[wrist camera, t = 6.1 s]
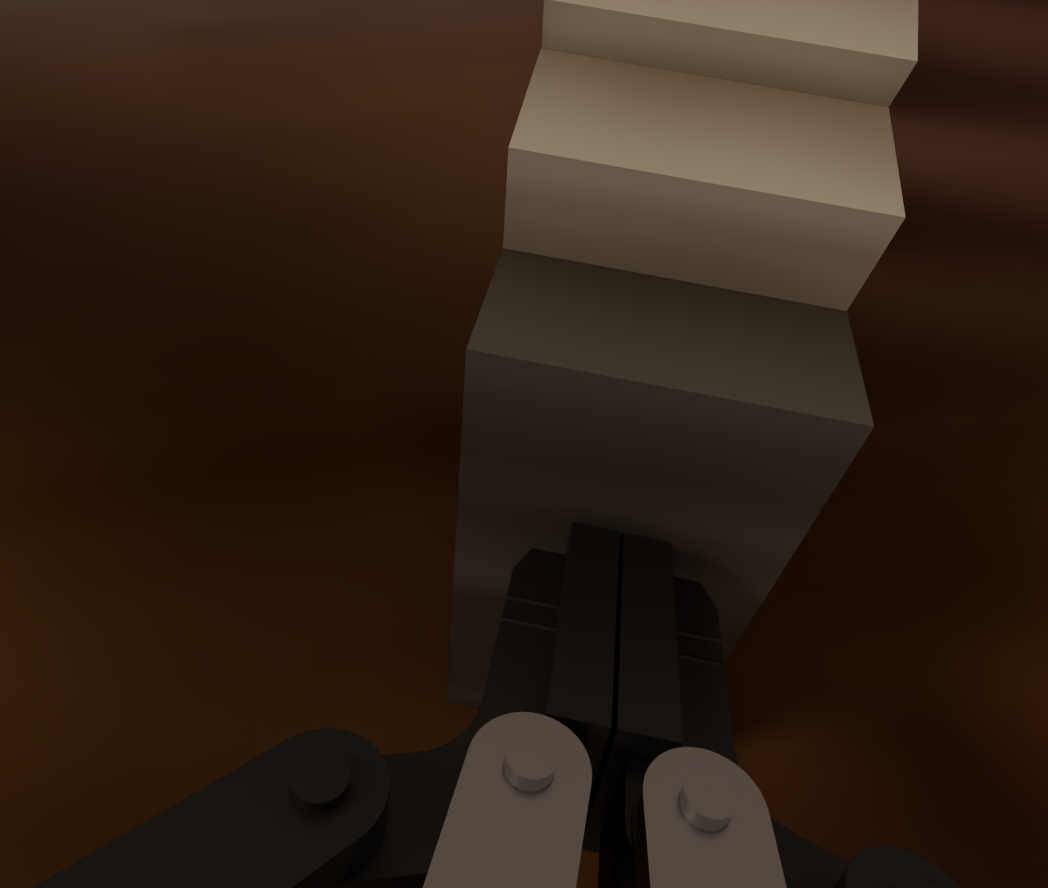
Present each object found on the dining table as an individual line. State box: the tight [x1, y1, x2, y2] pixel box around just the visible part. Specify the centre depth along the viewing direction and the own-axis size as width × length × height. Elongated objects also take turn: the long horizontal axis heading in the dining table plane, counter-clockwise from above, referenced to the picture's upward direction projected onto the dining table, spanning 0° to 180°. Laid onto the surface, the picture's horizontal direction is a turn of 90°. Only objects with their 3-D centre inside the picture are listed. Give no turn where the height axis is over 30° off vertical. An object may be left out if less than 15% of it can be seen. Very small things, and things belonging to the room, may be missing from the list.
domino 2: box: [503, 48, 905, 311], centre depth 14 cm, size 2×5×10 cm, turn 79°
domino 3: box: [447, 248, 874, 708], centre depth 13 cm, size 2×5×10 cm
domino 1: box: [542, 0, 918, 107], centre depth 15 cm, size 2×5×10 cm, turn 79°
